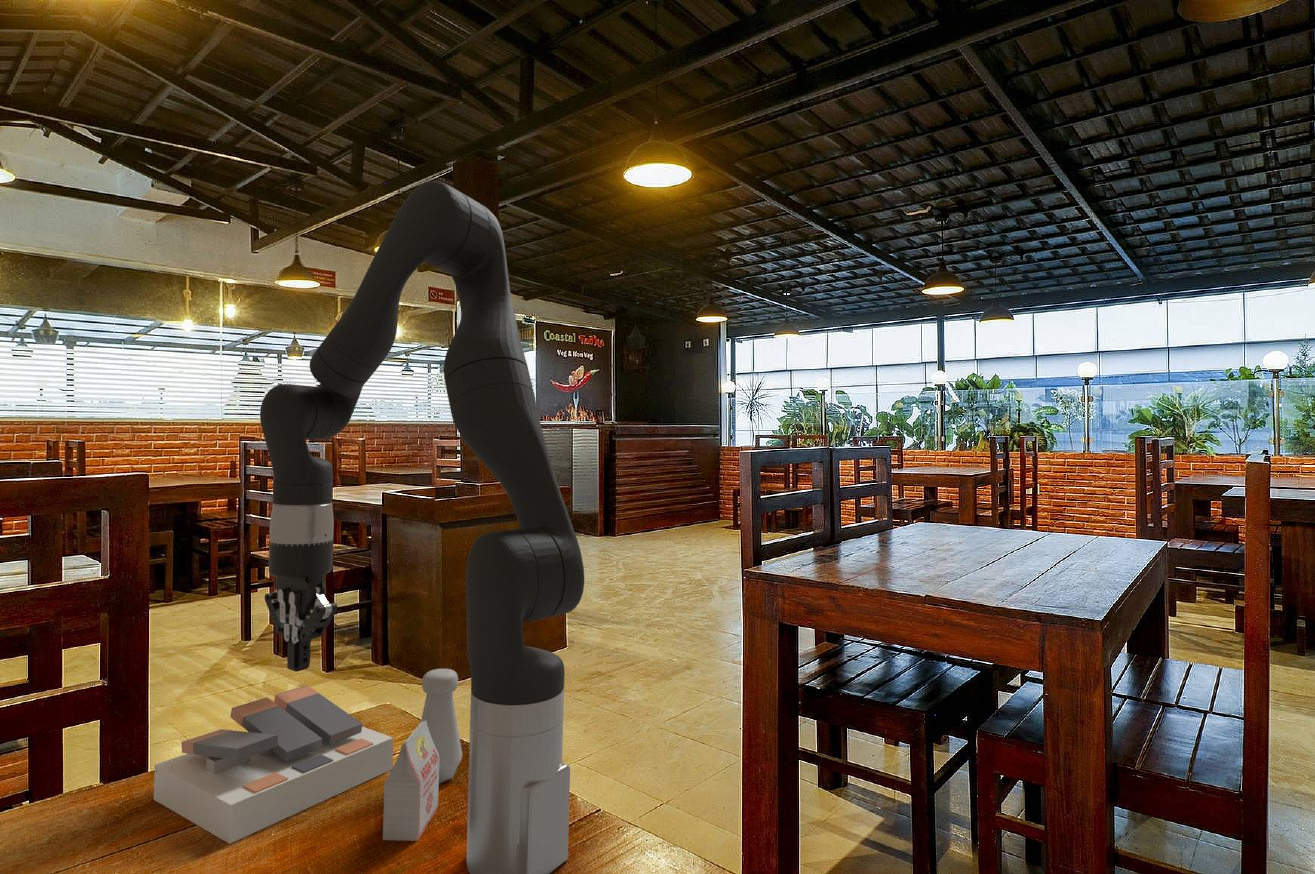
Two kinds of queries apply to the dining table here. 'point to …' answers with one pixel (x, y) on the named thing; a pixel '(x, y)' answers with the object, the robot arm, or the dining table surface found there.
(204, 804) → the switch box
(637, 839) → the dining table surface
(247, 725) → the switch
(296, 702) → the switch
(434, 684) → the salt shaker
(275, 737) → the switch
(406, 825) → the white gabled box
